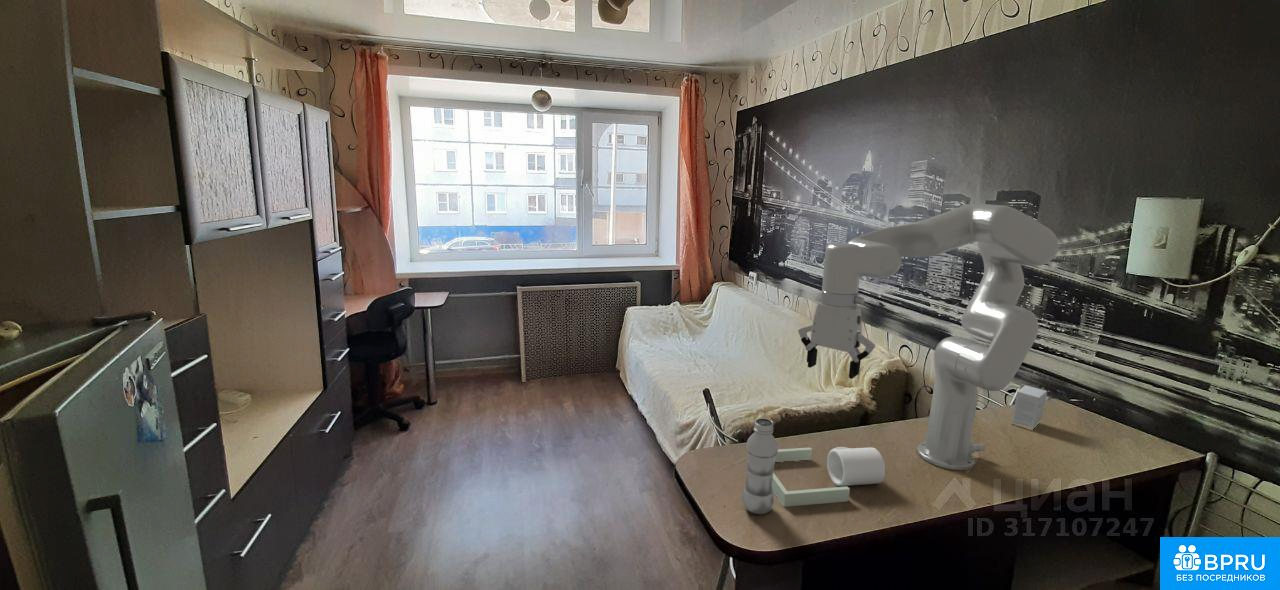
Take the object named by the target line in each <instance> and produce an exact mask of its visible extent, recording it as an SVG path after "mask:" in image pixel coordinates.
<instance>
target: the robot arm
mask: <svg viewBox="0 0 1280 590" xmlns="http://www.w3.org/2000/svg"><path fill="white" fill-rule="evenodd" d="M976 242H977V247H978V250H979V253H980V255H981V258H982V263H983V269H984V270H983V275H982V278H981V280H980V283H979V285H978V286H977V287H976V289H975V290H976V291H975V292H974V293H973V295H972V298H971V299H970V301H969V302H968V305H967V306H966V308H965V310H964V312H963V315H962V317H961V321H960V322H961V326H962V328H963V329H964V330H965V332H967V333H969V334H971V335H974V336H975V337H978V338H981V339H984V340H987V341H988V342H989V341H990V344H989V346H987V345H985V344H983V343H980V342H978V341H975V340H972V339H970V338H967V337H963V336H954V335H953V336H952V335H951V336H949V337H945V338H943V339H942V340H940V341H939V343H937V345H936V348H935V349H934V354H933V360H934V361H933V362H934V383H933V384H934V386H933V393H932V396H931V397H932V399H931V404H930V411H929V416H928V423H927V429H926V435H925V441H922V442H920V443H918V445H917V448H916V452H917V454H918V456H920V458H922V459H923V460H924V461H926V462H928V463H930V464H932V465H935V466H936V467H939V468H944V469H947V470H953V471H954V470H955V471H965V470H970V469H972V468H973V466H974V464H975V458H974V457H973V456H972V454H974V453H975V452H976V453H977V452H984V451H985V450H986V447H985V445H984V443H974V444H973V441H972V439H971V438H972V433H973V426H974V422H975V417H976V410H977V406H978V400H979V391H978V388H980V389H982V390H985V391H987V392H997V391H1000V390H1001V391H1002V390H1003V389H1004V388H1006V387H1007V386H1008V385H1009V384H1010V383H1011V381H1012V380H1014V377H1015V376H1016V374H1017V372H1018V371H1019V369H1020V367H1021V365H1022V363H1023V362H1024V361H1025V359H1026V357H1027V355H1028V353H1029V352H1030V350H1031V349H1032V347H1033V346H1034V342H1035V341H1036V339H1037V336H1038V331H1039V322H1038V318H1037V316H1036V315H1035V313H1034V312H1032V311H1031V310H1029V309H1027V308H1025V307H1021V306H1018V305H1016V304H1017V303H1018V300H1019V299H1020V297H1021V295H1022V293H1023V290H1024V287H1025V276H1024V275H1025V274H1024V271H1023V269H1022V265H1025V266H1031V267H1032V266H1033V267H1039V266H1043V265H1046V264H1047V263H1049V262H1051V261H1052V260H1054V258H1055V257H1056V255H1057V253H1058V251H1059V239H1058V237H1057V236H1056V234H1055V233H1054V231H1053V230H1052V229H1050V228H1049V227H1047V226H1046V225H1044V224H1042V223H1040V222H1039V221H1037V220H1035V219H1034V218H1032V217H1030V216H1029V215H1027V214H1026V213H1024V212H1023V211H1021V210H1018V209H1016V208H1014V207H1011V206H1009V205H1002V204H992V203H991V204H988V203H970V204H965V205H962V206H959V207H956V208H954V209H951V210H948V211H946V212H943V213H940V214H937V215H935V216H932V217H928V218H926V219H923V220H920V221H914V222H909V223H904V224H900V225H899V224H898V225H896V226H890V227H889V226H888V227H886V228H885V227H884V228H881V229H877V230H874V231H871V232H867V233H864V234H862V235H860V236H856V237H854V238H852V239H851V240H849V241H847V242H832V243H829V244H828V245H827V246H826V248H825V252H824V260H823V261H824V262H823V273H822V285H821V286H822V287H821V293H820V294H821V296H820V297H821V298H820V301H818V303H817V305H816V307H815V312H814V316H813V320H812V324H811V325H809V326H805V327H804V326H803V327H802V328H799V329H798V334H799V337H800V338H801V339H800V340H801V343H802V344H803V345H804V347H805V350H806V351H807V352H806V353H807V354H806V363H807V368H812V367H815V366H816V365H817V362H818V361H817V359H818V349H817V348H816V347H817V346H820V347H822V348H827V349H832V350H835V351H841V352H845V353H848V355H849V356H850V358H851V359H852V360H851V361H850V363H849V371H848V378H849V379H851V380H853V379H855V378H856V377H857V376H858V375H859V374H860V372H861V371H860V369H861V361H862V360H863V359H865V358H867V357H869V356H870V355H871V353H872V352H873V350H874V349H875V347H876V344H875V343H874V342H873V341H871V340H870V339H869V338H867V337H866V336H864V335H863V334H862V332H863V331H862V330H863V325H862V324H863V323H862V320H863V319H862V310H861V306H859V304H864V300H865V299H864V297H862V296H860V295H859V294H860V293H859V287H860V286H859V285H860V278H861V277H866V278H875V279H885V278H886V279H887V278H889V277H891V276H893V275H895V274H896V273H897V272H899V270H900V268H901V266H902V264H903V263H902V262H903V261H902V260H903V258H929V257H937V256H939V255H943V254H945V253H947V252H950V251H953V250H955V249H959V248H960V247H964V246H966V245H968V244H971V243H976ZM809 332H810V337H809V336H808V333H809ZM861 344H862V345H863V346H864V349H863V351H862V352H861V350H860V349H859V348H860V347H861Z"/></svg>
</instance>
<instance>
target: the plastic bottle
mask: <svg viewBox="0 0 1280 590" xmlns="http://www.w3.org/2000/svg"><path fill="white" fill-rule="evenodd" d="M753 431H754V432H753V433H752V434H751V435H750V436H749V437H748V439H747V441H746V445H745V446H746V447H745V448H746V460H747V463H746V464H747V465H746V467H747V471H746V478H745V479H746V480H745V485H744V488H743V492H742V504H743V506H744V507H745V510H747V511H748V512H749V513H752V514H754V515H765V514H768V513H769V512H770V511H772V509H773V506H774V502H775V494H774V492H773V473H774V471H775V464H776V463H775V460H776V456H777V452H778V450H779V445H778V442H777V440H776V438H775V436H774V435H773V432H774V422H773V421H772V420H770V419H769V418H765V417H763V418H757V419H755V421H754V426H753Z"/></svg>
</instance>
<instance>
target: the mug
mask: <svg viewBox="0 0 1280 590" xmlns="http://www.w3.org/2000/svg"><path fill="white" fill-rule="evenodd" d="M826 463H827V465H826V466H827V472H828V474H829V477H830V479H831V481H832V483H834V484H835V485H836V486H837V487H846V486H847V487H848V486H859V485H873V484H880V483H882V482H883V481H884V479H885V476H886V465H885V464H886V463H885V461H884V458H883V456H882V454H881V453H880V451H879V450H878V449H877V448H875V447H872V446H871V447H856V448H854V447H852V448H851V447H850V448H849V447H845V446H837V447H834V448H832V449H830V451H829V452H828V454H827V459H826Z"/></svg>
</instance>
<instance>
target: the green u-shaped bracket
mask: <svg viewBox="0 0 1280 590" xmlns="http://www.w3.org/2000/svg"><path fill="white" fill-rule="evenodd" d="M812 454H813V448H812V447H799V448H796V447H795V448H780V449H779V448H778V452H777V456H776V460H775V462H779V461H795V462H800V461H799V460H809V461H812V456H813V455H812ZM850 490H851V489H850V487H848V486H837V487H823V488H809V489H799V490H787V489H786V488H785V486H784V484H783V483H782V482H781V480H780V479H779V478H778V476H777V475H776V474H775V473H774V472H773V493H774V496H776V498H777V499H778V501H779V502H780V503H781V504H782V507H784V508H785V507H787V508H788V507H797V506H809V505H820V504H821V505H822V504H832V503H833V504H835V503H845V502H849V499H850V492H851V491H850Z"/></svg>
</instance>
